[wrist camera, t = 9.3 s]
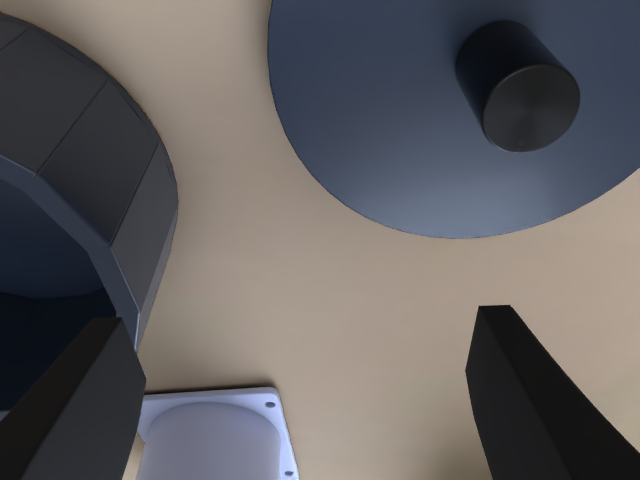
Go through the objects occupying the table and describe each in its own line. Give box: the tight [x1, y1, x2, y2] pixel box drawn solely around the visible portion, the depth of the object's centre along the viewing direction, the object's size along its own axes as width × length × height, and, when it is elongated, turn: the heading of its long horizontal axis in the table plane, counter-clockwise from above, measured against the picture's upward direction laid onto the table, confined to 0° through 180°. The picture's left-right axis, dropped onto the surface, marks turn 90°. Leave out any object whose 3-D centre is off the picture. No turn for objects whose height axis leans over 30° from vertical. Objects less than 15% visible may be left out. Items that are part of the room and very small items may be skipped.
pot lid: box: [267, 0, 640, 239], centre depth 15 cm, size 13×13×4 cm
